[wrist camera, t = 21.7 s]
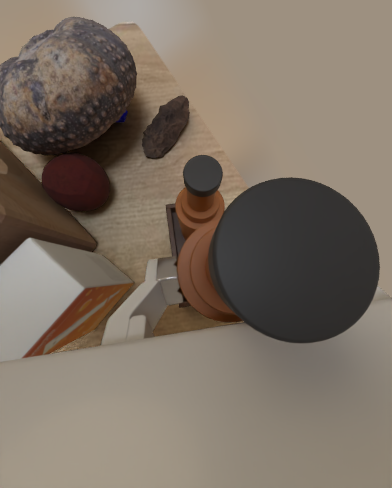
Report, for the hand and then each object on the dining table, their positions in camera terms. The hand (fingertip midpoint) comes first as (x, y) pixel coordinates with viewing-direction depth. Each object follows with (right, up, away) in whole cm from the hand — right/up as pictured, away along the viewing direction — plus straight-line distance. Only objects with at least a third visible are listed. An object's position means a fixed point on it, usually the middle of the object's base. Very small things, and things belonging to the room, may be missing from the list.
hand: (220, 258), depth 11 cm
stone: (-8, +20, +20) cm, 30 cm away
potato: (-17, +8, +19) cm, 27 cm away
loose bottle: (0, -2, +8) cm, 8 cm away
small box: (-15, -6, +17) cm, 23 cm away
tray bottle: (-1, +3, +18) cm, 18 cm away
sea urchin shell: (-16, +18, +18) cm, 30 cm away
